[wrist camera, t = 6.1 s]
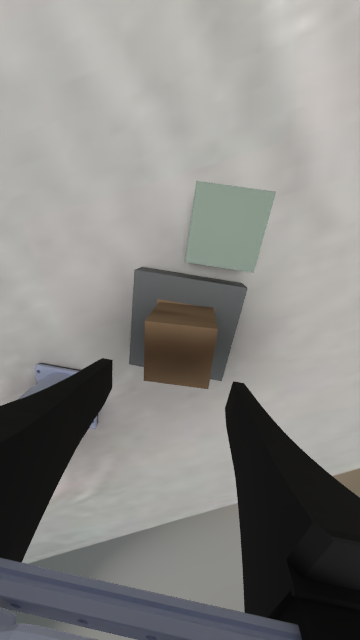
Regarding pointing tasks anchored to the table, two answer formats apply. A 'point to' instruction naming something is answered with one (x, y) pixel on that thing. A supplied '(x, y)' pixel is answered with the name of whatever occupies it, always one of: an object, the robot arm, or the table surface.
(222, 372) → the charcoal block
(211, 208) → the sage cube
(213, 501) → the table surface
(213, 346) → the walnut cube
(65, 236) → the table surface
